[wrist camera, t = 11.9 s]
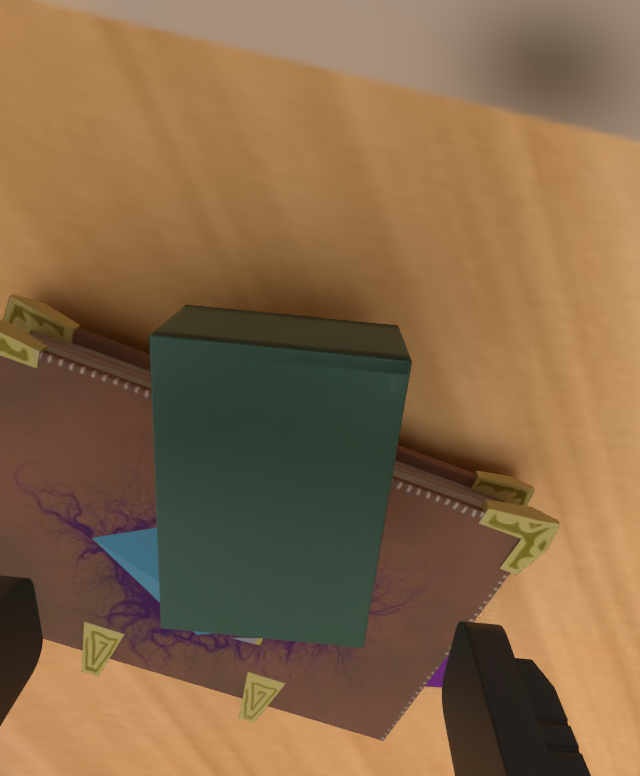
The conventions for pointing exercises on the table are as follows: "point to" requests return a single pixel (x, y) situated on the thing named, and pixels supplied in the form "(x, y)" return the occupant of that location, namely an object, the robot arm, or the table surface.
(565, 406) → the table surface
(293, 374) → the notebook
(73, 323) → the book
